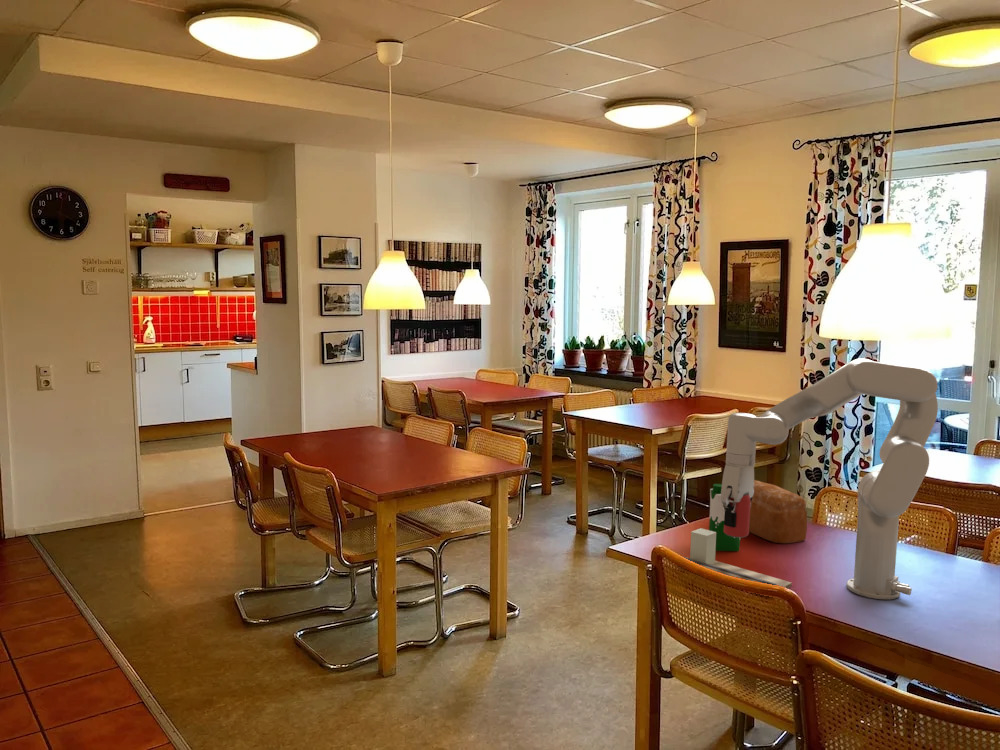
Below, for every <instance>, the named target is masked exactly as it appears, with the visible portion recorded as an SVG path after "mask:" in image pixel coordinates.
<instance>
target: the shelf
mask: <svg viewBox="0 0 1000 750" xmlns="http://www.w3.org/2000/svg"><path fill="white" fill-rule="evenodd" d="M683 557H684V558H686V559H688V560H690V561H693V562H695V563H697V564H699V565H702V566H704V567H706V568H709V569H712V570H714V571H717V572H721V573H723V574H726V575H729V576H734V577H738V578H743V579H746V580H751V581H757V582H762V583H767V584H772V585H779V586H783V587H786V588H787V589H789V588H790V587H792V584H793V583H792V581H787V580H784V579H781V578H777V577H774V576H771V575H767V574H764V573H761V572H760V573H759V572H757V571H753V570H749V569H746V568H742V567H738V566H736V565H733V564H728V563H726V562H721V561H718V560H715V563H714V564H712V565H711V564H707V563H704V562H700V561H697V560H694V559H690V557H686V556H683Z"/></svg>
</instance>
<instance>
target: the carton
mask: <svg viewBox="0 0 1000 750" xmlns="http://www.w3.org/2000/svg"><path fill="white" fill-rule="evenodd" d="M715 550H716V532H714V531H710V530H709V529H705V528H703V527H702V528H701V527H700V528H697V529H695V530H692V531H691V532H690V552H689V558H690V559H694V560H697V561H700V562H704V563H707V564H711V565H712V564H714V563H715V561H716V551H715Z"/></svg>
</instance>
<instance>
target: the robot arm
mask: <svg viewBox="0 0 1000 750" xmlns="http://www.w3.org/2000/svg"><path fill="white" fill-rule="evenodd" d="M938 387H939V385H938V381H937V378H936V376H935V375H934V373H932V372H931V371H930V370H928V369H927V368H923V367H920V366H918V365H916V364H903V365H898V364H891V363H890V364H889V363H886V362H885V363H884V362H879V361H874V360H871V359H869V358H863V357H861V358H856V359H853V360H851V361H849V362H848V363H846V364H845V365H843V366H841V367H840V368H838V369H836V370H835V371H832V372H831V373H830V374H828V375H826V376H825V377H823V378H822V379H820V380H818V381H817V382H815V383H813V384H812V385H810V386H808V387H806V388H804V389H802V390H801V391H798V392H797V393H795V394H793V395H792V396H790V397H788V398H786V399H784V400H782V401H781V402H778V403H777V404H776V405H774V406H772V407H771V408H769V409H767V410H766V411H764V412H763V413H762V414H761V415H760V416H756V415H754V414H753V413H748V412H747V413H746V412H734V413H731V414H729V416H728V418H727V419H728V420H727V436H726V437H727V438H726V450H725V451H726V452H725V453H726V454H725V466H724V469H723V473H722V481H721V484H722V489H721V499H722V500H721V501H722V504H723V507H724V511H725V516H724V525H725V526H729V527H733V528H734V527H736V515H737V513H735V511H736V507H737V503H738V502H740V501H741V499H742V498H743V496H744V494H747V493H749V496H750V500H751V501H752V497H753V494H754V480H755V466H756V451H757V443H761V444H766V445H771V446H775V445H781V444H783V442H785V441H786V440H787V438H788V436H789V430H791V429H792V428H794V427H795V426H797V425H799V424H801V423H802V422H805V421H807V420H809V419H812V418H815V417H816V418H817V417H818V418H819V417H824V416H826V415H829V414H832V413H834V412H835V411H837V410H838V409H840V408H841V407H843V406H844V405H846V404H848V403H850V402H851V401H853V400H855V399H856V398H857V399H858V398H859V397H860V396H861V395H867V396H871V397H875V398H876V397H877V398H883V399H888V400H896V401H899V409H898V413H897V414H896V417H895V419H894V421H893V424H892V426H891V428H890V429H889V431H888V433H887V435H886V437H885V439H884V440H883V443H882V444H881V446H880V449H879V458H880V460H881V462H882V463H883V464H882V465H881V468H880V470H873V471H869V472H868V473H866V474H865V475H863V477H862V478H861V479H860V481H859V484H858V488H857V527H856V541H855V557H854V570H853V578H850V579H848V580H847V581H846V588H847V590H849V591H851V592H852V593H854V594H857V595H858V596H862V597H865V598H870V599H875V600H895V599H897V598H899V597H900V596H901V594H903V595H907V596H911V594H912V592H913V591H912V587H911V586H910V585H909V584H906V583H901V582H900V581H899V576H897V575H896V565H897V564H896V561H897V560H896V559H897V549H898V536H899V523H900V521H899V517H900V516H901V515H903V514H904V513H906V511H907V510H908V508H909V506H911V503H912V501H913V500H914V498H915V496H916V495H917V492H918V490H919V488H920V487H921V485H922V483H923V482H924V481H923V480H924V479H925V477H926V474H927V473H928V470H929V466H930V456H929V453H928V451H927V450H926V448H925V445H926V443H927V441H928V439H929V437H930V434H931V432H932V431H933V428H934V425H935V423H936V421H937V416H938V410H939V408H938V406H939V405H938V399H937V394H936V392H937V390H938ZM730 498H734V501H732V500H729V499H730ZM729 503H733V507H732V506H731V504H729ZM750 507H751V504H750Z"/></svg>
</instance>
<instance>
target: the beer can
mask: <svg viewBox="0 0 1000 750" xmlns="http://www.w3.org/2000/svg"><path fill="white" fill-rule="evenodd" d="M729 500H732V501H734V498H730V499H729ZM729 504H731V506H732V507H733V503H729ZM750 504H751V500H750V496H749V493H747V494H744V496H743V498H742V499H741V501H740V502H738V503H737V507H736V511H735V513H737V515H736V527H734V528H733V527H729V526H725V525H724V533H725V534H726V535H728V536H731V537H736V538H747V537H748V536H749V534H750V532H749V521H750ZM724 516H725V515H724Z"/></svg>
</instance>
